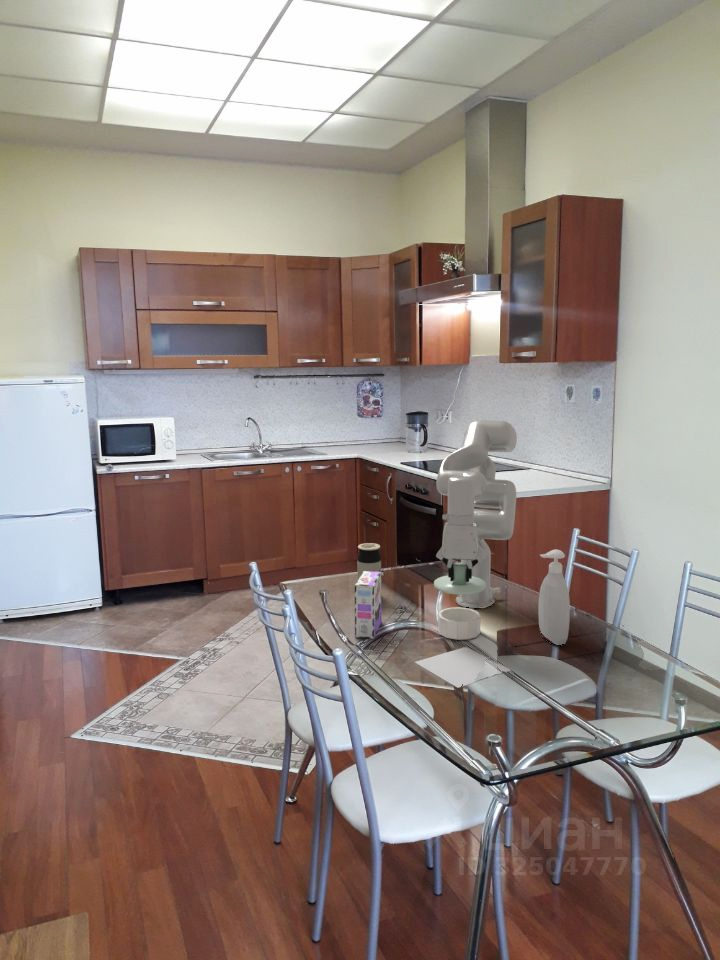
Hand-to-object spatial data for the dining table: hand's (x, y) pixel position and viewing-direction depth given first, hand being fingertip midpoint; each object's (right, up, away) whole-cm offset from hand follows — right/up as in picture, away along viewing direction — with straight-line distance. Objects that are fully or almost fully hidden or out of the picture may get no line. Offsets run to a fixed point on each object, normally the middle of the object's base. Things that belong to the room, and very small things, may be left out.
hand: (459, 579), depth 214 cm
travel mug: (-26, -11, +36) cm, 46 cm away
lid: (0, -2, 0) cm, 2 cm away
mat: (-2, -21, -19) cm, 28 cm away
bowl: (0, -17, +3) cm, 17 cm away
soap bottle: (+26, -17, -2) cm, 31 cm away
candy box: (-26, -16, +8) cm, 32 cm away
